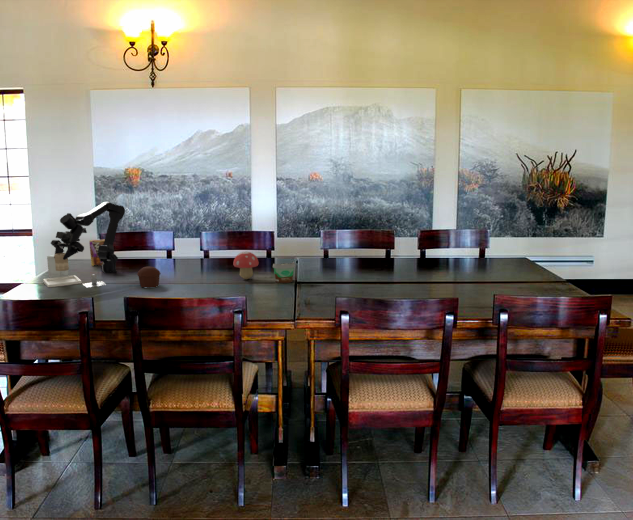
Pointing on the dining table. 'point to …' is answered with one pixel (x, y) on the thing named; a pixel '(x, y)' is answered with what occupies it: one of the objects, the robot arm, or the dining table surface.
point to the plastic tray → (62, 281)
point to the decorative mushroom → (246, 264)
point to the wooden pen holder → (61, 262)
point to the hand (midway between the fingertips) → (59, 258)
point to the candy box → (95, 251)
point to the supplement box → (54, 268)
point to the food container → (283, 272)
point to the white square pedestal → (94, 282)
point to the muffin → (149, 276)
